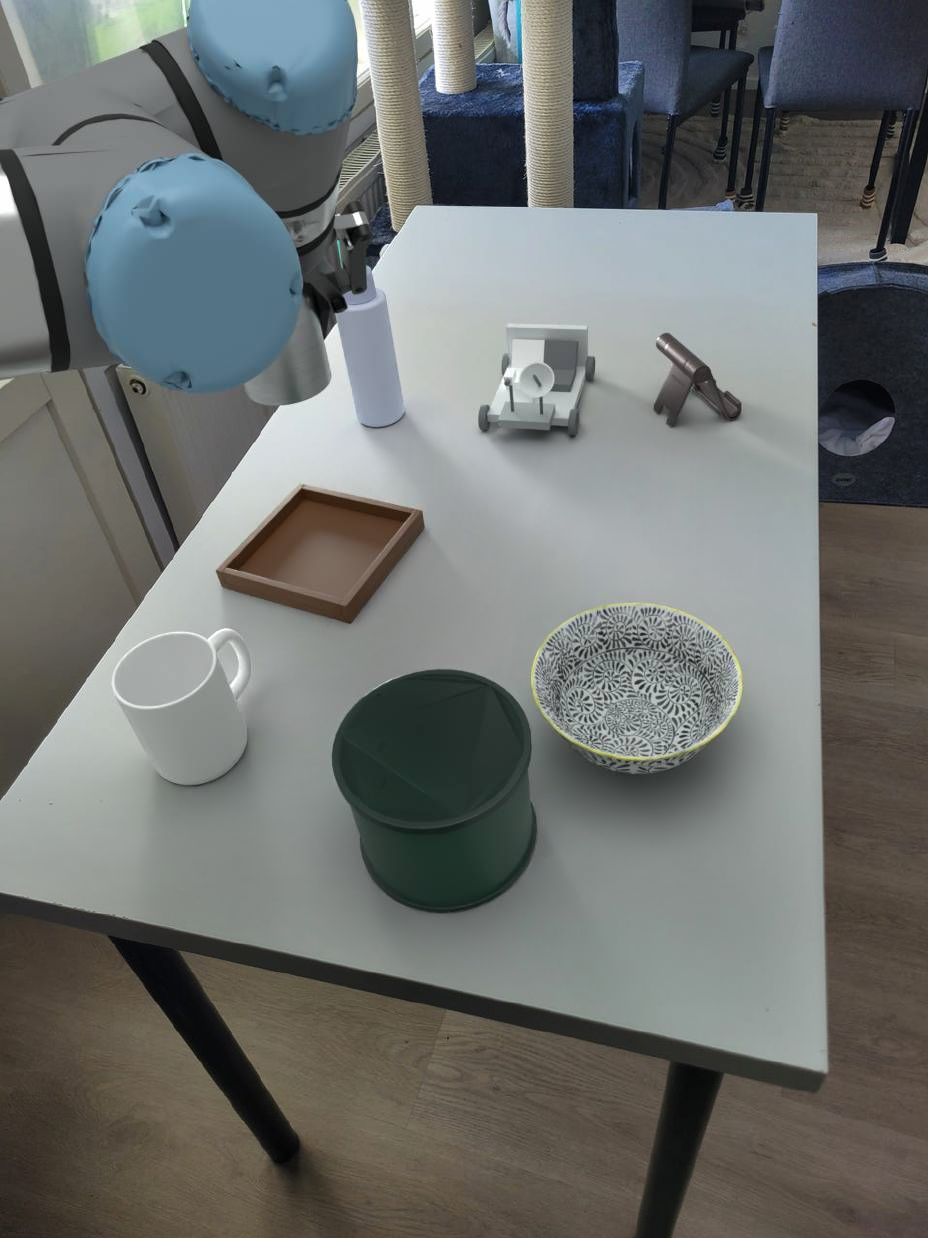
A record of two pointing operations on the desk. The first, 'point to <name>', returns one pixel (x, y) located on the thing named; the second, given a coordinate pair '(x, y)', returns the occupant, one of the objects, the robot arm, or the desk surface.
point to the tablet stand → (690, 382)
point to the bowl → (636, 685)
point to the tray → (322, 551)
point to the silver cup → (295, 362)
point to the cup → (185, 703)
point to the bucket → (439, 788)
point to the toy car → (541, 378)
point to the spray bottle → (370, 356)
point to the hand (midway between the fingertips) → (270, 337)
